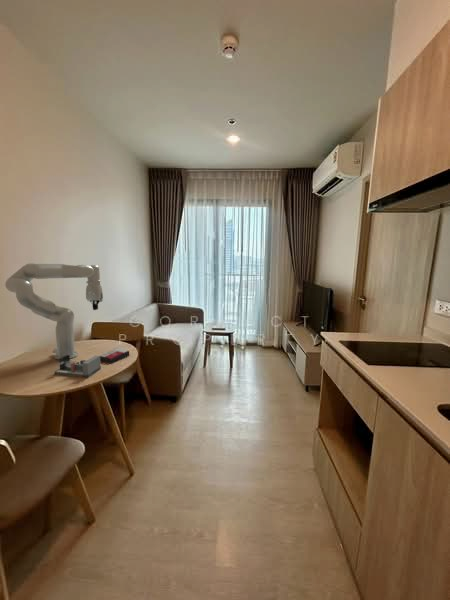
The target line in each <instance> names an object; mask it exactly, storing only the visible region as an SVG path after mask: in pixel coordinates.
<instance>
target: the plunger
mask: <svg viewBox="0 0 450 600" xmlns="http://www.w3.org/2000/svg"><path fill="white" fill-rule="evenodd" d="M71 363H75V364H80V361H72V360H71V359H70V356H69V355H66V356H63V357H61V358H59V360H58V366H59V369H64V368H65V367H71Z"/></svg>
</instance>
